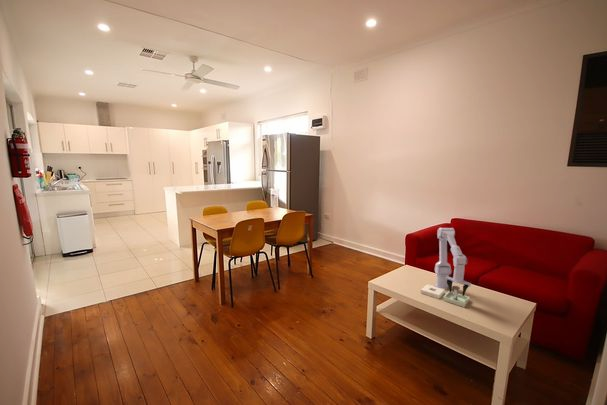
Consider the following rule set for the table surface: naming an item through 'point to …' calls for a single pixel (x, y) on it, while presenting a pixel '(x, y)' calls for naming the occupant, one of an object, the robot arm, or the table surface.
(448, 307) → the table surface
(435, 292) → the lock block
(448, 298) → the pin tray
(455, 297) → the lock pin
